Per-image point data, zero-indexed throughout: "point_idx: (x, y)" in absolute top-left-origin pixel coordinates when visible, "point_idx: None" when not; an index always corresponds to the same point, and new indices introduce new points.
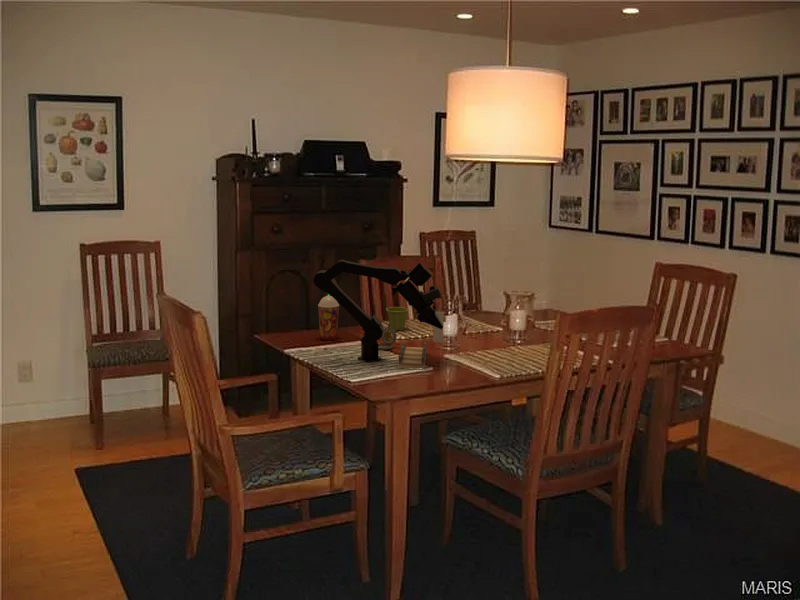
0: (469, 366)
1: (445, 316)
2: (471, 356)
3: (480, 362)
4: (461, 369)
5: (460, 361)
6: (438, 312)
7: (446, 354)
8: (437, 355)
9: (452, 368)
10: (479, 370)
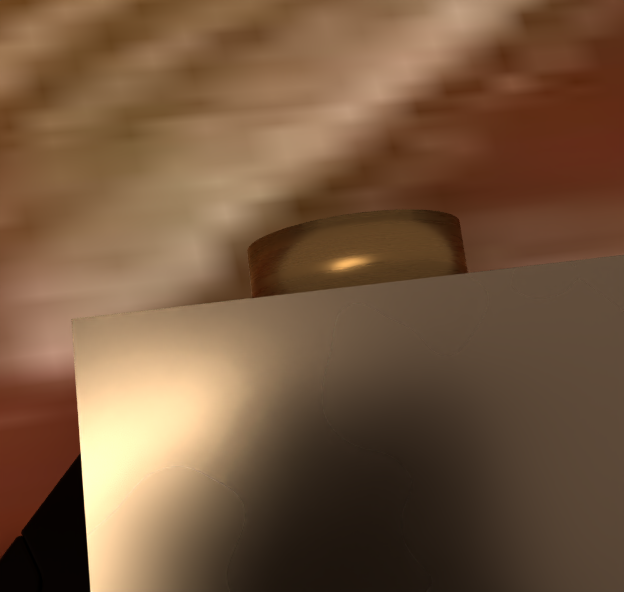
0: (419, 102)
1: (440, 228)
2: (51, 114)
3: (257, 22)
4: (537, 158)
5: (263, 194)
6: (320, 549)
7: (14, 356)
8: (73, 441)
9: (527, 237)
10: (526, 13)
